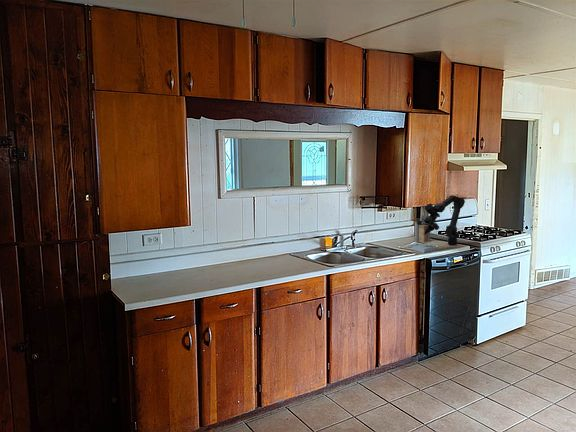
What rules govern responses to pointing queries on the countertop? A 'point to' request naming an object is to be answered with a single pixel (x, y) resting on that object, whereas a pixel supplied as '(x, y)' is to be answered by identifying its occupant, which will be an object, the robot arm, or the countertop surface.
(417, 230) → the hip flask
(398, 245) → the countertop surface
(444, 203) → the robot arm
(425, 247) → the plinth
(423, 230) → the walnut block
